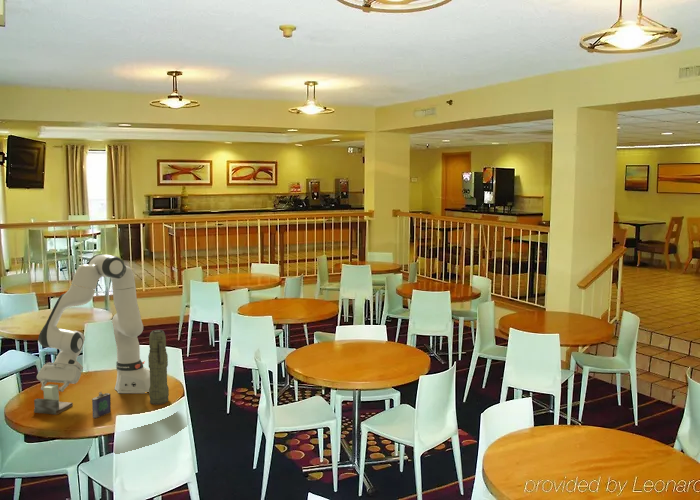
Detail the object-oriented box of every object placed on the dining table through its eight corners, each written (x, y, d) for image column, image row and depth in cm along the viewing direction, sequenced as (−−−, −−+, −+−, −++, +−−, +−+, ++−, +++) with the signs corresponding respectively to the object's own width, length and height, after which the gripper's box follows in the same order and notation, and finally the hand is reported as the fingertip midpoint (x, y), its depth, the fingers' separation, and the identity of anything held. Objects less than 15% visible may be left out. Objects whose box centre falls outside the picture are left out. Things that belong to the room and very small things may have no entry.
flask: (95, 419, 264) (94, 395, 263) (90, 417, 265) (89, 394, 264) (112, 412, 272) (111, 389, 271) (108, 411, 273) (107, 388, 272)
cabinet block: (59, 405, 275) (58, 384, 274) (52, 409, 271) (51, 388, 270) (50, 404, 276) (49, 384, 275) (44, 408, 272) (43, 387, 271)
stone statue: (155, 407, 279) (153, 334, 275) (145, 400, 287) (143, 330, 283) (173, 402, 285) (171, 331, 281) (162, 395, 293) (160, 327, 289)
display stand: (72, 405, 279) (72, 393, 278) (57, 414, 268) (56, 401, 268) (50, 403, 281) (49, 391, 281) (33, 412, 271) (33, 399, 270)
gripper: (41, 359, 281) (28, 386, 272) (79, 361, 277) (67, 388, 268) (48, 365, 286) (35, 391, 277) (86, 367, 282) (74, 394, 273)
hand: (51, 390), depth 273 cm, fingers open, 8 cm apart
